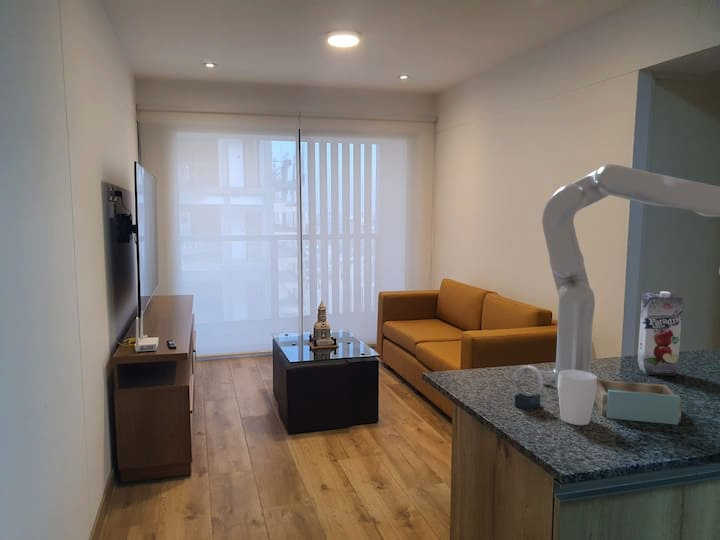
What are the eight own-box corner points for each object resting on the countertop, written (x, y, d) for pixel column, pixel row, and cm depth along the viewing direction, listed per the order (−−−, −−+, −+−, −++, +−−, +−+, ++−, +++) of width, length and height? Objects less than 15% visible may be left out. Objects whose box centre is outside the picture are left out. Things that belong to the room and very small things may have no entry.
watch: (519, 399, 148) (521, 361, 147) (546, 407, 142) (548, 367, 141) (508, 404, 144) (509, 364, 143) (534, 412, 138) (536, 371, 137)
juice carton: (634, 367, 178) (639, 288, 175) (667, 369, 177) (673, 289, 174) (644, 376, 170) (650, 292, 167) (680, 377, 168) (686, 293, 165)
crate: (601, 417, 135) (602, 394, 135) (592, 400, 147) (593, 379, 147) (680, 424, 131) (682, 401, 130) (664, 406, 143) (666, 385, 142)
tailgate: (607, 418, 134) (608, 391, 133) (606, 416, 135) (607, 389, 134) (678, 424, 130) (680, 396, 129) (676, 422, 131) (678, 395, 130)
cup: (591, 431, 126) (594, 382, 125) (552, 423, 131) (554, 376, 130) (597, 419, 134) (600, 373, 133) (559, 412, 139) (562, 367, 137)
